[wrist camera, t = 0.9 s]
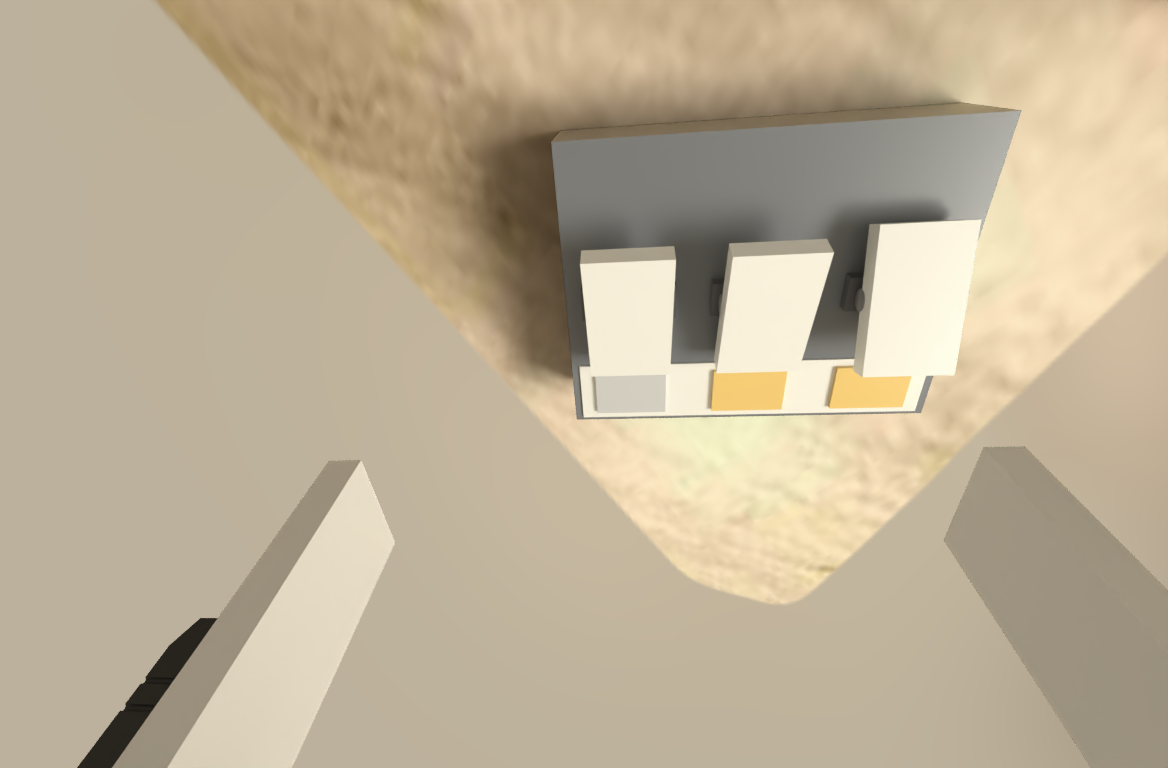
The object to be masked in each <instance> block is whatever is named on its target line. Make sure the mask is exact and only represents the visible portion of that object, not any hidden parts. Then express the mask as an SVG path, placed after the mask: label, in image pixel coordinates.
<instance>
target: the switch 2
mask: <svg viewBox="0 0 1168 768" xmlns="http://www.w3.org/2000/svg"><path fill="white" fill-rule="evenodd" d="M833 255H834V251H833V249H832V247H831V246H830V244H829V242H828V240H827V239H811V240H790V241H769V242H748V243H729V249H728V256H727V264H726V271H725V279H724V286H723V294H720V296H719V315H720V317H719V324H718V332H717V339H716V347H715V354H714V362H715V368H716V373H748V372H786V371H799V368H800V365H801V362H802V358H803V355H804V352H805V348H806V345H807V342H808V338H809V335H810V332H811V328H812V325H813V321H814V318H815V315H816V311H817V308H818V305H819V301H820V298H821V295H822V291H823V288H824V285H825V281H826V278H827V275H828V271H829V268H830V265H831V261H832V258H833Z"/></svg>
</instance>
